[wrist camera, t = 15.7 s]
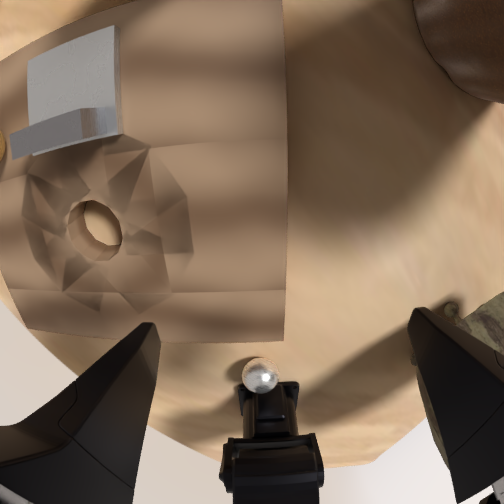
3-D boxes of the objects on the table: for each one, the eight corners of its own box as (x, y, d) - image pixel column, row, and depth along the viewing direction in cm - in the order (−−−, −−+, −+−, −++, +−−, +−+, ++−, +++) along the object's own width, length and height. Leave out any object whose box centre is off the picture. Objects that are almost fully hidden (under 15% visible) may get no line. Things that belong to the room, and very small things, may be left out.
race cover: (123, 133, 15) (94, 140, 11) (39, 153, 15) (6, 166, 11) (119, 28, 11) (91, 13, 8) (34, 61, 11) (1, 59, 8)
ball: (245, 350, 25) (229, 383, 24) (278, 366, 23) (261, 401, 22) (260, 352, 28) (245, 382, 27) (290, 367, 26) (274, 398, 25)
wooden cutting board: (280, 320, 24) (283, 340, 22) (37, 314, 24) (27, 328, 22) (276, -1, 13) (280, -16, 11) (-15, 83, 13) (-33, 85, 11)
